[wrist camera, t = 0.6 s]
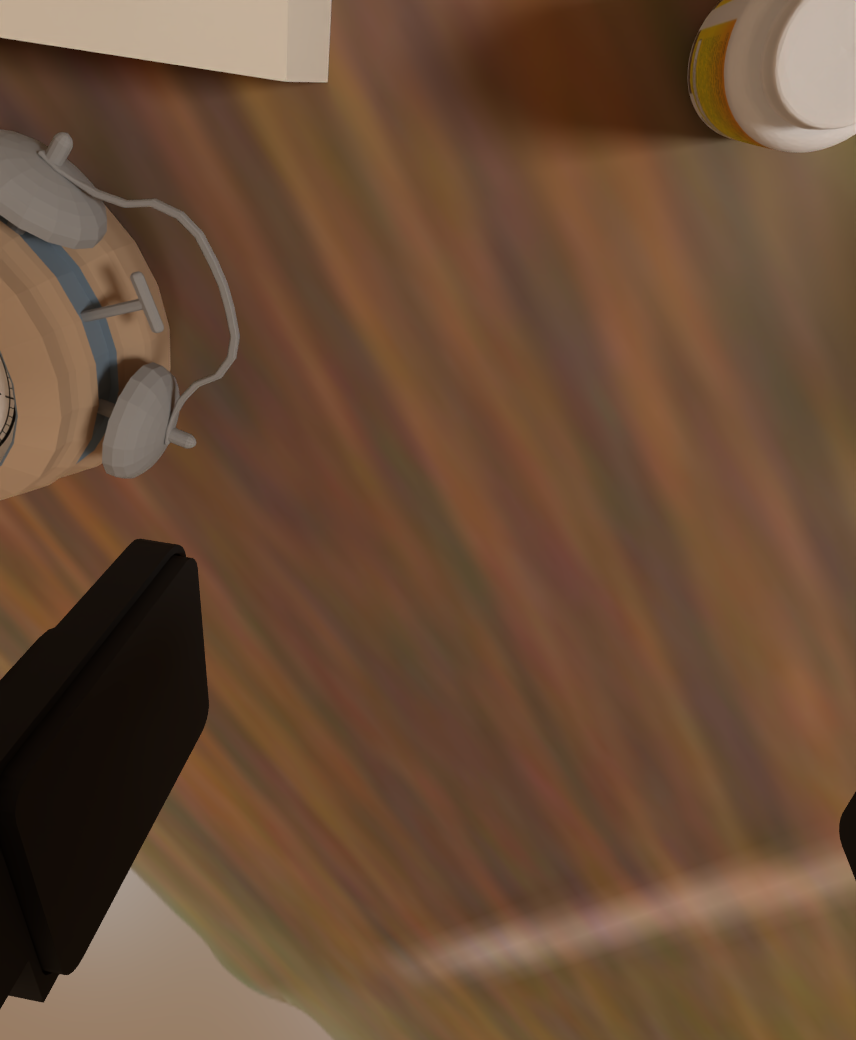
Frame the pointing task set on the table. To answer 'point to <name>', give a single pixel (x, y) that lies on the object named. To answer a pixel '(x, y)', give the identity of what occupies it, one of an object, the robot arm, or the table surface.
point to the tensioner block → (186, 32)
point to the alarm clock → (81, 327)
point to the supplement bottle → (777, 72)
